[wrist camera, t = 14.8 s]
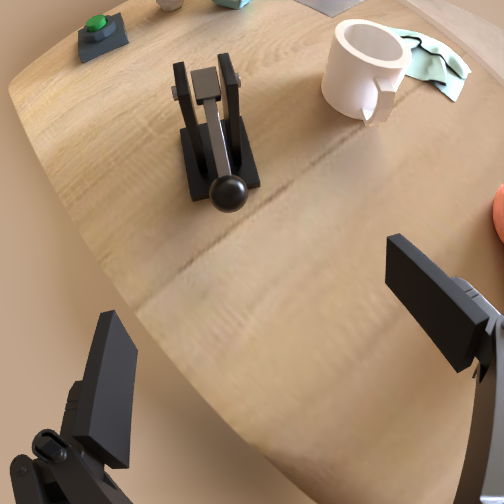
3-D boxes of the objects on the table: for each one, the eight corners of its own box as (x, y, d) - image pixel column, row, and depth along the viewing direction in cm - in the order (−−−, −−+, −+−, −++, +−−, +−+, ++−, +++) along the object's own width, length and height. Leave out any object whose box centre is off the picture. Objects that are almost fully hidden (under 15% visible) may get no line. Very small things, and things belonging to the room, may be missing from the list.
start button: (107, 26, 41) (104, 20, 40) (89, 35, 41) (86, 28, 39) (106, 18, 42) (103, 12, 41) (88, 26, 42) (85, 20, 40)
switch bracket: (260, 187, 37) (265, 105, 23) (192, 201, 37) (161, 126, 22) (241, 121, 40) (238, 33, 25) (181, 134, 39) (155, 50, 25)
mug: (403, 139, 39) (436, 92, 29) (337, 140, 39) (359, 86, 29) (374, 71, 43) (393, 23, 32) (313, 69, 42) (325, 16, 32)
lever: (249, 206, 30) (253, 210, 27) (213, 214, 30) (213, 219, 27) (221, 74, 27) (222, 62, 24) (186, 81, 27) (182, 70, 23)
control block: (128, 43, 45) (123, 27, 41) (82, 63, 44) (75, 48, 40) (122, 20, 47) (117, 5, 43) (81, 38, 46) (75, 24, 42)
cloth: (478, 74, 45) (483, 67, 42) (441, 117, 41) (447, 108, 38) (400, 15, 48) (404, 7, 46) (344, 42, 44) (347, 32, 42)
